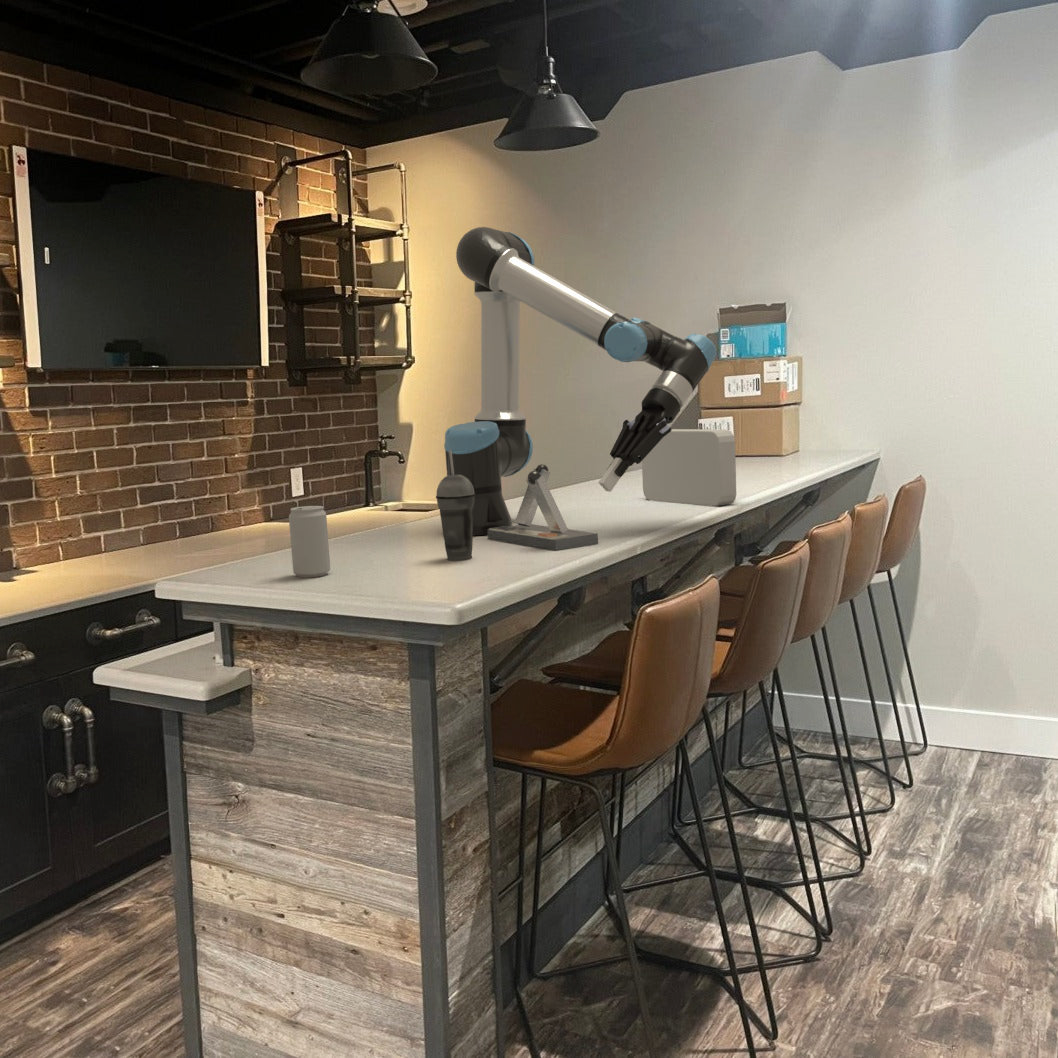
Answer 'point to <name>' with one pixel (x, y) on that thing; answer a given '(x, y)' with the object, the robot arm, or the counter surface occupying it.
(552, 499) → the outer lever
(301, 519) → the beverage can
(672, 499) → the gray rounded block
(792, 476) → the counter surface
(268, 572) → the counter surface
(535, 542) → the switch base
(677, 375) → the robot arm
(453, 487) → the beverage cup
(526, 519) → the inner lever
